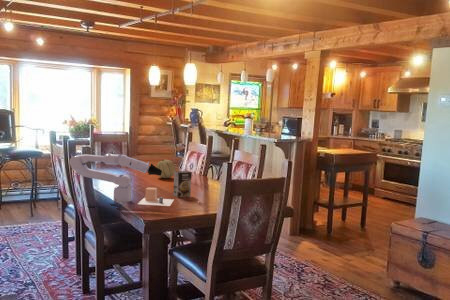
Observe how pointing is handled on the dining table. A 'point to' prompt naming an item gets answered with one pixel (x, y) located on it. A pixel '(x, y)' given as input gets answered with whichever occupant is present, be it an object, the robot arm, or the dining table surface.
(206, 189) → the dining table surface
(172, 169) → the cantaloupe
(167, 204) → the base plate
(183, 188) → the coffee box
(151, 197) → the peach cube
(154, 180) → the dining table surface
